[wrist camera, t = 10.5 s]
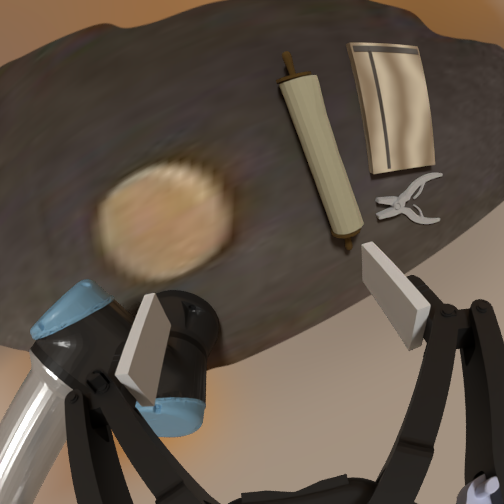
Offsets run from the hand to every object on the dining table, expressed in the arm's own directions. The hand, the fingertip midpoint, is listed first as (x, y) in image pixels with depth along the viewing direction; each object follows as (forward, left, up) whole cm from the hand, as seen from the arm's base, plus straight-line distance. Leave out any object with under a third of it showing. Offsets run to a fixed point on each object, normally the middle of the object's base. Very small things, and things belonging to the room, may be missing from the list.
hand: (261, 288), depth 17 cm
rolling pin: (+12, +2, -27) cm, 30 cm away
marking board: (+27, +9, -27) cm, 39 cm away
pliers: (+28, -9, -27) cm, 40 cm away
